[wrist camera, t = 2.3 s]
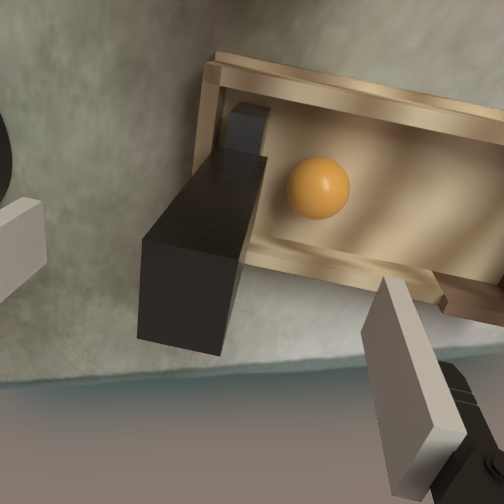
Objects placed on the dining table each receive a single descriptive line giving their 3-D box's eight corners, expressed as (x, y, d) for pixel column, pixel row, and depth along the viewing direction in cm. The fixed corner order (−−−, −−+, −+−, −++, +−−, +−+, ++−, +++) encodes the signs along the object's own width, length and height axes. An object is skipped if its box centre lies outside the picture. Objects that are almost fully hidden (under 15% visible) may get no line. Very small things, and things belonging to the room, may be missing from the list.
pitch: (195, 232, 32) (178, 263, 27) (218, 50, 25) (201, 53, 21) (495, 296, 31) (527, 338, 27) (593, 129, 25) (655, 148, 21)
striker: (215, 214, 29) (134, 378, 15) (232, 99, 25) (145, 177, 11) (255, 222, 29) (212, 395, 15) (278, 109, 25) (250, 199, 11)
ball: (281, 200, 28) (279, 222, 25) (294, 144, 27) (293, 160, 23) (337, 211, 28) (342, 236, 25) (354, 156, 26) (362, 175, 23)
